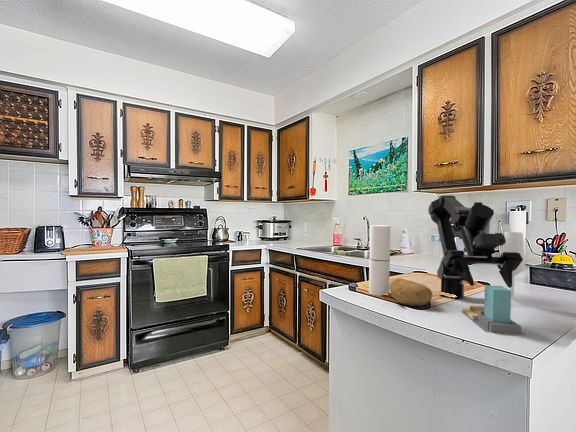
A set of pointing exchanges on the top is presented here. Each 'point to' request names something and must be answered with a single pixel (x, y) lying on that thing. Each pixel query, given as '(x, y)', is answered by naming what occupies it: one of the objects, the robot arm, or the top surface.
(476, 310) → the offcut stack
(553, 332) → the top surface
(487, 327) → the slotted grey block
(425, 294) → the potato
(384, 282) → the cylindrical container
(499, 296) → the teal slat
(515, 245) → the champagne flute
